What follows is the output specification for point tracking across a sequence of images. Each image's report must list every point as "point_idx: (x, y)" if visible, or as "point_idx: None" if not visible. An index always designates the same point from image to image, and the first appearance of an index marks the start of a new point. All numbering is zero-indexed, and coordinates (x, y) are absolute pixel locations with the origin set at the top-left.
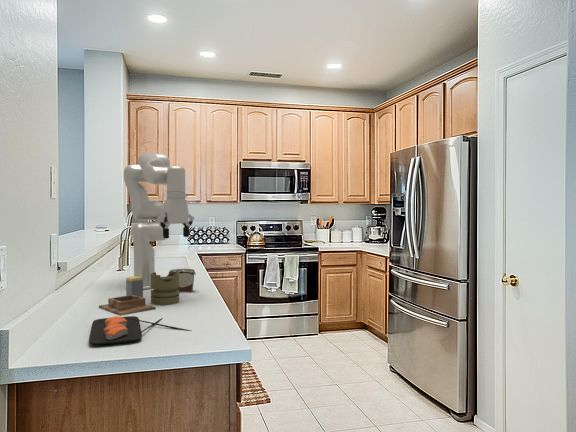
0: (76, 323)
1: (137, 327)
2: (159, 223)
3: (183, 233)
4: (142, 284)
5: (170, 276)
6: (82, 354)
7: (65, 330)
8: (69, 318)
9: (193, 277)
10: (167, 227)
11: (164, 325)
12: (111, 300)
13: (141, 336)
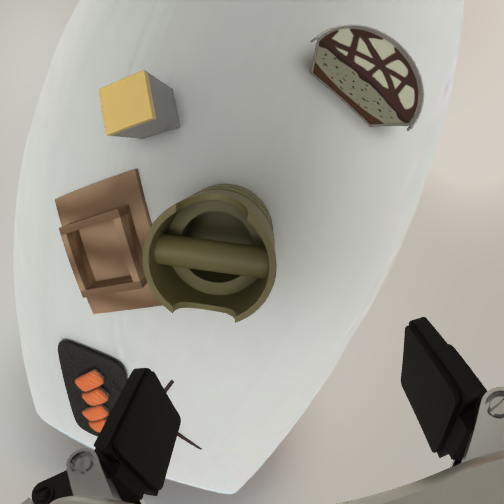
0: (37, 315)
1: None
2: (42, 497)
3: (419, 350)
4: (161, 121)
5: (233, 268)
6: (79, 431)
7: (34, 344)
8: (22, 271)
9: (397, 125)
10: (140, 501)
11: None
12: (66, 246)
13: None
